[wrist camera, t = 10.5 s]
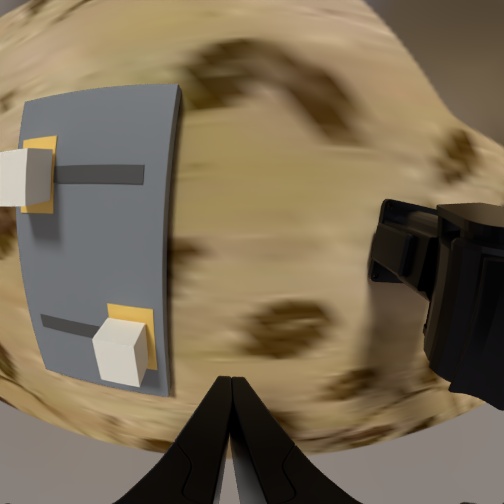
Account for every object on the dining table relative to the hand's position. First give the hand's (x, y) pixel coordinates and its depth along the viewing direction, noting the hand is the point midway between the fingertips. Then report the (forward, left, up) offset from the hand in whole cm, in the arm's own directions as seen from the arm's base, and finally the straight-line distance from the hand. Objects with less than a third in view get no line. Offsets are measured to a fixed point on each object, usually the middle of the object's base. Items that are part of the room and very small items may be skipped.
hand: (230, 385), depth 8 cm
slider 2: (+7, +6, -10) cm, 14 cm away
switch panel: (+11, 0, -12) cm, 16 cm away
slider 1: (+15, -6, -10) cm, 19 cm away
